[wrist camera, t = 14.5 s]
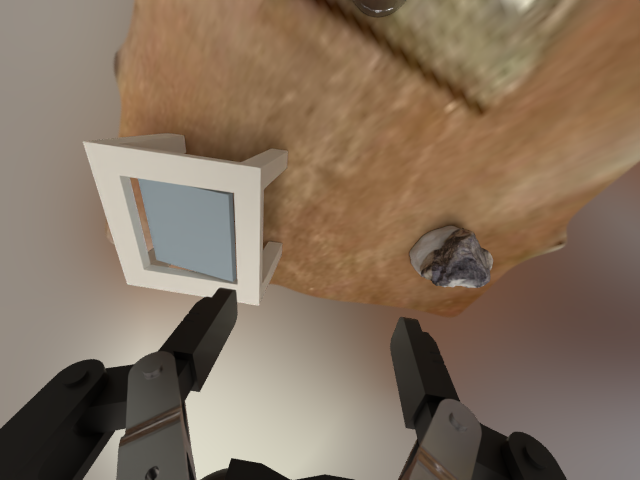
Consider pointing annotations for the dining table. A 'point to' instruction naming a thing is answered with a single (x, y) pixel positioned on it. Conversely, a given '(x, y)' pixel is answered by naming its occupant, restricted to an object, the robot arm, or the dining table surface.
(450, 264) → the stone
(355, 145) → the dining table surface
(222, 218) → the trapdoor
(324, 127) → the dining table surface
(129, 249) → the stand
